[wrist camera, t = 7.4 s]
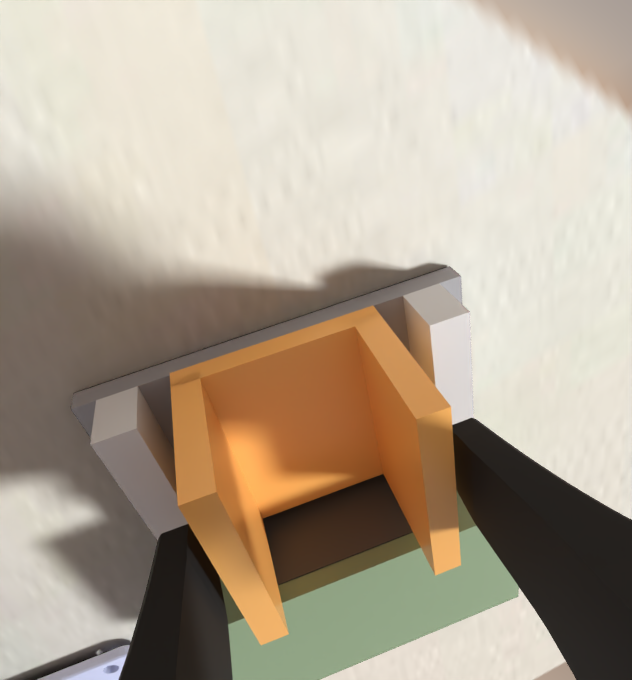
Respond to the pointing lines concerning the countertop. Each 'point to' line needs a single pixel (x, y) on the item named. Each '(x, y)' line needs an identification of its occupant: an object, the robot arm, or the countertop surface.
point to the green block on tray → (322, 504)
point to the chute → (308, 446)
